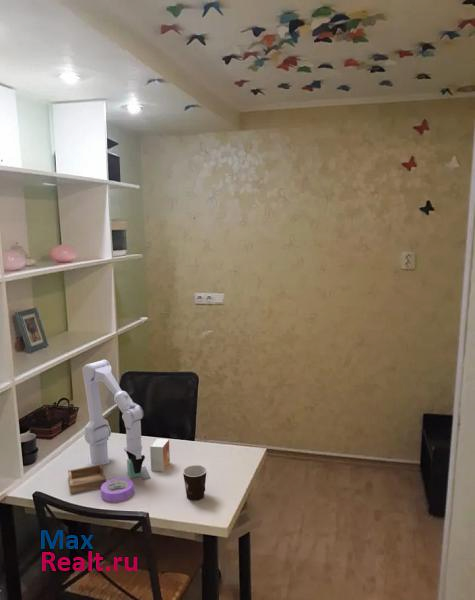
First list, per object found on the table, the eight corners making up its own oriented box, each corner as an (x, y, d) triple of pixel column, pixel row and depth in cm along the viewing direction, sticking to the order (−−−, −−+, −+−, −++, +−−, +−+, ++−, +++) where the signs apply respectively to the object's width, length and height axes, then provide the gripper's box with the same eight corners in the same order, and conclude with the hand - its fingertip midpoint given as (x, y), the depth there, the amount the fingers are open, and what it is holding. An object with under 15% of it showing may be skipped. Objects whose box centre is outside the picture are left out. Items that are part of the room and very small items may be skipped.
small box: (163, 471, 195) (162, 447, 193) (150, 470, 196) (149, 446, 194) (170, 462, 203) (169, 439, 201) (157, 461, 204) (156, 438, 202)
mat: (120, 472, 195) (120, 471, 195) (145, 467, 199) (145, 466, 199) (125, 483, 186) (124, 482, 186) (150, 478, 190) (150, 477, 190)
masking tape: (112, 484, 186) (112, 475, 185) (139, 489, 182) (138, 479, 182) (94, 500, 175) (94, 490, 174) (122, 506, 171) (122, 496, 171)
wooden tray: (68, 478, 190) (68, 470, 190) (102, 472, 195) (101, 464, 195) (70, 495, 178) (70, 486, 178) (106, 487, 183) (106, 479, 183)
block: (127, 473, 193) (127, 459, 192) (137, 471, 195) (136, 457, 194) (130, 478, 189) (129, 463, 189) (140, 475, 191) (139, 461, 190)
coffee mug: (184, 490, 180) (183, 465, 179) (206, 489, 181) (206, 464, 180) (183, 508, 169) (182, 481, 167) (207, 506, 170) (206, 480, 168)
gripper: (119, 431, 195) (121, 463, 197) (128, 445, 182) (129, 479, 184) (136, 428, 198) (138, 459, 200) (146, 441, 185) (147, 474, 187)
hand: (135, 468), depth 192 cm, fingers open, 7 cm apart
